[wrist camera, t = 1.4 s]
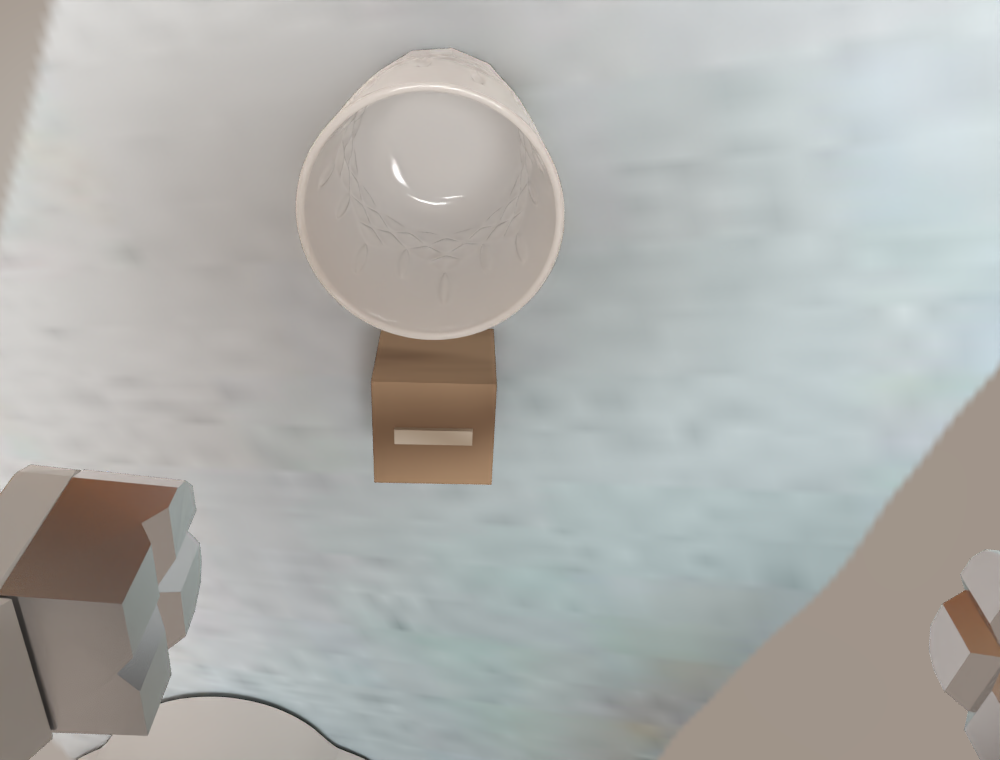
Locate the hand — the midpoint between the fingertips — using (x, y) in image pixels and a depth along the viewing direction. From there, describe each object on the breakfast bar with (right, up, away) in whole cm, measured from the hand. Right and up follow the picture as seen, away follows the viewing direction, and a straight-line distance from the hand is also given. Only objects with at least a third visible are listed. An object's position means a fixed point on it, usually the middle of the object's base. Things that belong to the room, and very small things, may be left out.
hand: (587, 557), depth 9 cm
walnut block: (-4, +2, +30) cm, 30 cm away
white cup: (-3, +12, +25) cm, 27 cm away
